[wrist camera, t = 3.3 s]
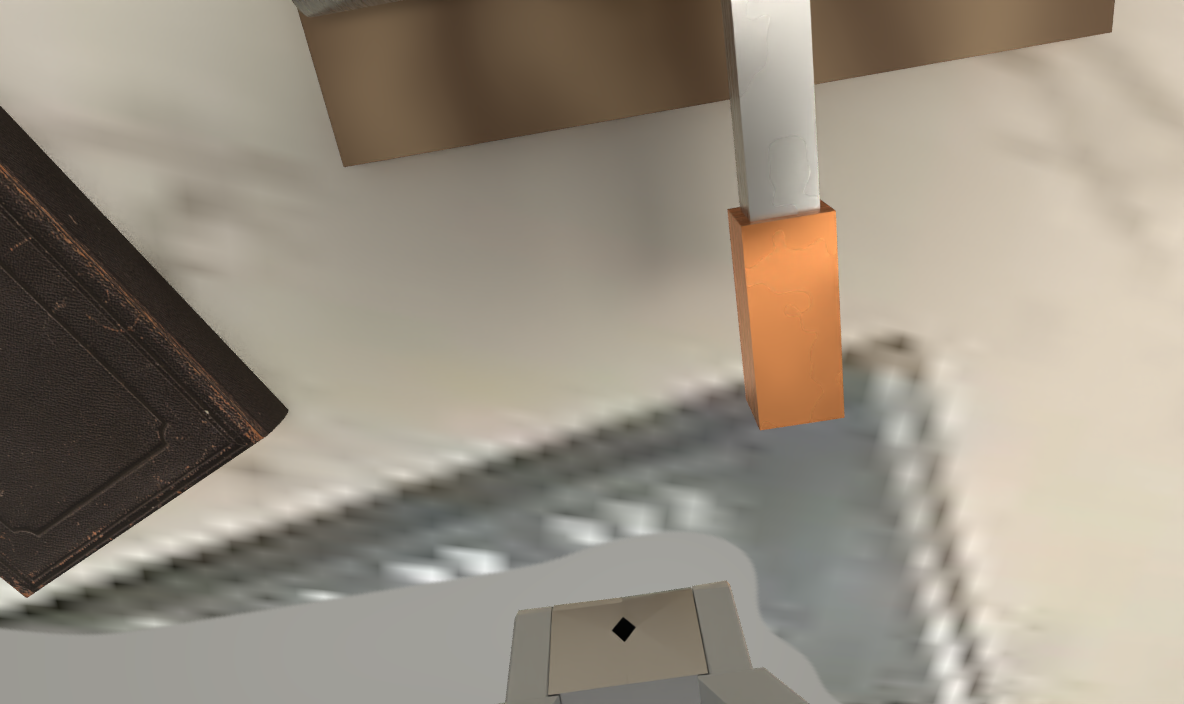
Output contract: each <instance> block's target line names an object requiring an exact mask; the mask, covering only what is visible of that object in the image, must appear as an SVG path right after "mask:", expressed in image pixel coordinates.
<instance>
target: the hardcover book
mask: <svg viewBox="0 0 1184 704" xmlns="http://www.w3.org/2000/svg"><path fill="white" fill-rule="evenodd" d="M287 413H288V409H287V408H286V407H285V406H284V405H283V404H282V403H281V402H280V401H279V400H278V399H277V398H276V397H275V395H274V394H273V393H272V392H271V391H270V390H269V389H268V388H267V387H266V386H265V385H264V384H263V383H262V382H261V381H260V380H259V379H258V378H257V376H256V375H255V374H254V373H253V372H252V371H251V370H250V369H249V368H248V367H247V366H246V365H245V364H244V363H243V362H242V361H241V360H240V359H239V357H238V356H237V355H236V354H235V353H234V352H233V351H232V350H231V349H230V348H229V347H228V346H227V345H226V344H225V343H224V342H223V341H222V340H221V338H220V337H219V336H218V335H217V334H216V333H215V332H214V331H213V330H212V329H211V328H210V327H209V326H208V325H207V324H206V323H205V322H204V321H203V319H202V318H201V317H200V316H199V315H198V314H197V313H196V312H195V311H194V310H193V309H192V308H191V307H190V306H189V305H188V304H187V303H186V301H185V300H184V299H183V298H182V297H181V296H180V295H179V294H178V293H177V292H176V291H175V290H174V289H173V288H172V287H171V286H170V285H169V284H168V282H167V281H166V280H165V279H164V278H163V277H162V276H161V275H160V274H159V273H158V272H157V271H156V270H155V269H154V268H153V267H152V266H151V265H150V263H149V262H148V261H147V260H146V259H145V258H144V257H143V256H142V255H141V254H140V253H139V252H138V251H137V250H136V249H135V248H134V247H133V246H132V244H131V243H130V242H129V241H128V240H127V239H126V238H125V237H124V236H123V235H122V234H121V233H120V232H119V231H118V230H117V229H116V228H115V227H114V225H113V224H112V223H111V222H110V221H109V220H108V219H107V218H106V217H105V216H104V215H103V214H102V213H101V212H100V211H99V210H98V209H97V207H96V206H95V205H94V204H93V203H92V202H91V201H90V200H89V199H88V198H87V197H86V196H85V195H84V194H83V193H82V192H81V191H80V190H79V188H78V187H77V186H76V185H75V184H74V183H73V182H72V181H71V180H70V179H69V178H68V177H67V176H66V175H65V174H64V173H63V172H62V171H61V169H60V168H59V167H58V166H57V165H56V164H55V163H54V162H53V161H52V160H51V159H50V158H49V157H48V156H47V155H46V154H45V153H44V152H43V150H42V149H41V148H40V147H39V146H38V145H37V144H36V143H35V142H34V141H33V140H32V139H31V138H30V137H29V136H28V135H27V134H26V133H25V131H24V130H23V129H22V128H21V127H20V126H19V125H18V124H17V123H16V122H15V121H14V120H13V119H12V118H11V117H10V116H9V115H8V113H7V112H6V111H5V110H4V109H3V108H2V107H1V106H0V577H1V578H2V579H4V580H5V581H6V582H7V583H9V584H10V585H11V586H12V587H13V588H15V589H16V590H17V591H18V592H20V593H21V594H22V595H23V596H25V597H26V598H28V597H29V596H31V595H32V594H34V593H35V592H37V591H38V590H39V589H41V588H42V587H44V586H45V585H47V584H48V583H50V582H51V581H53V580H54V579H56V578H57V577H59V576H60V575H62V574H63V573H65V572H66V571H68V570H69V569H71V568H72V567H74V566H75V565H76V564H78V563H79V562H81V561H82V560H84V559H85V558H87V557H88V556H90V555H91V554H93V553H94V552H96V551H97V550H99V549H100V548H102V547H103V546H105V545H106V544H108V543H109V542H111V541H112V540H113V539H115V538H116V537H118V536H119V535H121V534H122V533H124V532H125V531H127V530H128V529H130V528H131V527H133V526H134V525H136V524H137V523H139V522H140V521H142V520H143V519H145V518H146V517H148V516H149V515H150V514H152V513H153V512H155V511H156V510H158V509H159V508H161V507H162V506H164V505H165V504H167V503H168V502H170V501H171V500H173V499H174V498H176V497H177V496H179V495H180V494H182V493H183V492H185V491H186V490H187V489H189V488H190V487H192V486H193V485H195V484H196V483H198V482H199V481H201V480H202V479H204V478H205V477H207V476H208V475H210V474H211V473H213V472H214V471H216V470H217V469H219V468H220V467H222V466H223V465H224V464H226V463H227V462H229V461H230V460H232V459H233V458H235V457H236V456H238V455H239V454H241V453H242V452H244V451H245V450H247V449H248V448H250V447H251V446H253V445H254V444H256V443H257V442H259V441H260V440H261V439H263V438H264V437H266V436H267V435H268V434H269V433H270V432H272V431H273V430H274V429H275V428H276V427H277V426H278V425H279V424H280V422H281V421H282V420H283V419H284V418H285V416H286V415H287Z"/></svg>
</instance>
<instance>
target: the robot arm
mask: <svg viewBox="0 0 1184 704" xmlns="http://www.w3.org/2000/svg"><path fill="white" fill-rule="evenodd" d="M512 639H513V640H512V647H511V657H510V665H509V674H508V683H507V691H506V700H505V703H500V704H809V703H808V702H807V701H805V700H804V699H803V698H802V697H800V696H799V695H798V694H797V693H795V692H794V691H793V690H792V689H790V688H789V687H788V686H787V685H785V684H784V683H783V682H782V681H780V680H779V679H778V678H777V677H775V676H774V675H773V674H771V673H770V672H769V671H768V670H767V669H765V668H755V669H753V667H752V664H751V660H750V656H749V653H748V649H747V645H746V642H745V638H744V634H743V630H742V627H741V623H740V619H739V616H738V612H737V609H736V605H735V601H734V597H733V594H732V590H731V586H730V584H729V583H728V582H727V581H720V582H714V583H708V584H702V585H696V586H692V588H691V587H688V588H681V589H674V590H668V591H661V592H654V593H648V594H642V595H635V596H628V597H620V598H612V599H604V600H596V601H587V602H579V603H570V604H562V605H554V607H542V608H534V609H525V610H519V611H518V613H517V615H516V617H515V621H514V629H513V638H512Z"/></svg>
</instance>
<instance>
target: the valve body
mask: <svg viewBox="0 0 1184 704" xmlns="http://www.w3.org/2000/svg"><path fill="white" fill-rule="evenodd" d="M292 1H293V3H294V4H295V5H296V7H297V8H298V9H299V10H300V11H301V12H302V13H303V14H304V15H305V16H307V17H310V18H311V17H316V16H322V15H327V14H332V13H338V12H343V11H348V10H354V9H359V8H364V7H370V6H375V5H380V4H386V3H391V2H396V1H402V0H292Z"/></svg>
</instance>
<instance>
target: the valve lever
mask: <svg viewBox="0 0 1184 704" xmlns="http://www.w3.org/2000/svg"><path fill="white" fill-rule="evenodd" d="M721 7H722V18H723V29H724V39H725V50H726V61H727V72H728V83H729V94H730V105H731V115H732V126H733V137H734V148H735V159H736V170H737V181H738V191H739V202H740V207H737V208H731V209H727V210H728V220H729V230H730V240H731V250H732V260H733V271H734V281H735V291H736V301H737V311H738V321H739V331H740V342H741V352H742V362H743V372H744V382H745V392H746V400H747V402H748V404H749V406H750V409H751V411H752V413H753V416H754V418H755V420H756V422H757V425H758V427H759V429H760V430H765V429H772V428H779V427H785V426H792V425H798V424H805V423H812V422H818V421H825V420H831V419H838V418H844V397H843V373H842V350H841V326H840V302H839V279H838V255H837V231H836V211H835V210H834V209H833V208H831V207H830V206H828V205H827V204H826V203H824V202H823V201H822V200H820V193H819V173H818V153H817V133H816V114H815V94H814V74H813V54H812V34H811V14H810V0H721Z"/></svg>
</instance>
